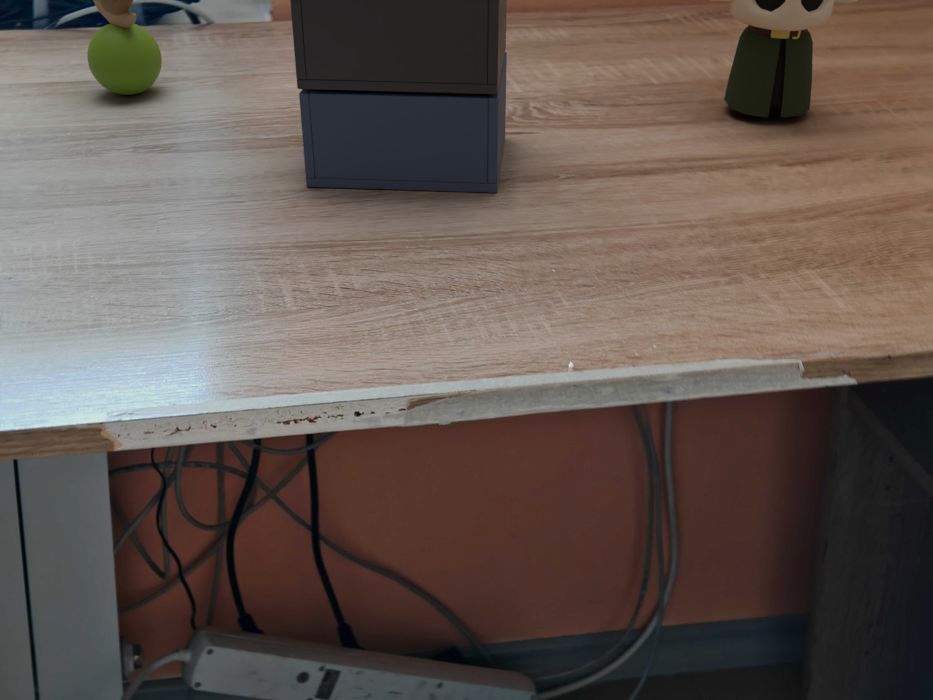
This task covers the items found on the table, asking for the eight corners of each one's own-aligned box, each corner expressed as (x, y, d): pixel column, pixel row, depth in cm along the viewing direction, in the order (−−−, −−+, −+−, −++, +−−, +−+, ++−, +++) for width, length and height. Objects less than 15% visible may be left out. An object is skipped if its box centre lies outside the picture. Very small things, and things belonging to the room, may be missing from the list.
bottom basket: (306, 187, 68) (298, 93, 65) (335, 132, 76) (330, 47, 73) (497, 193, 67) (498, 98, 64) (505, 137, 76) (506, 51, 73)
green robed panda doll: (697, 126, 78) (719, -65, 71) (686, 95, 84) (704, -84, 77) (851, 129, 77) (888, -64, 70) (829, 97, 83) (860, -83, 76)
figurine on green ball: (135, 76, 88) (110, -81, 82) (180, 92, 84) (157, -70, 78) (74, 90, 85) (43, -71, 79) (117, 109, 81) (88, -60, 75)
